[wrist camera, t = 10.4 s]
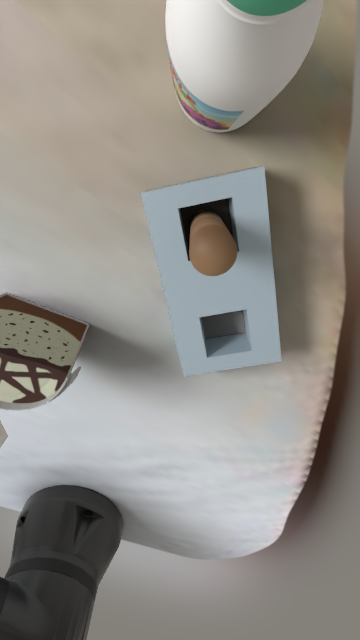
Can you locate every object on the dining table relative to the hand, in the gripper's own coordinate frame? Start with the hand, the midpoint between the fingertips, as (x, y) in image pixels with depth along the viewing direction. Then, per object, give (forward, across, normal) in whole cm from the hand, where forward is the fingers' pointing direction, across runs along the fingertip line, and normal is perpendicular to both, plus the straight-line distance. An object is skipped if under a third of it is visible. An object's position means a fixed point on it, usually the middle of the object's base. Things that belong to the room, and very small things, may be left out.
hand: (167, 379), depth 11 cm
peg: (+23, -3, -2) cm, 23 cm away
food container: (+24, +17, +6) cm, 30 cm away
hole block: (+23, -3, +3) cm, 23 cm away
